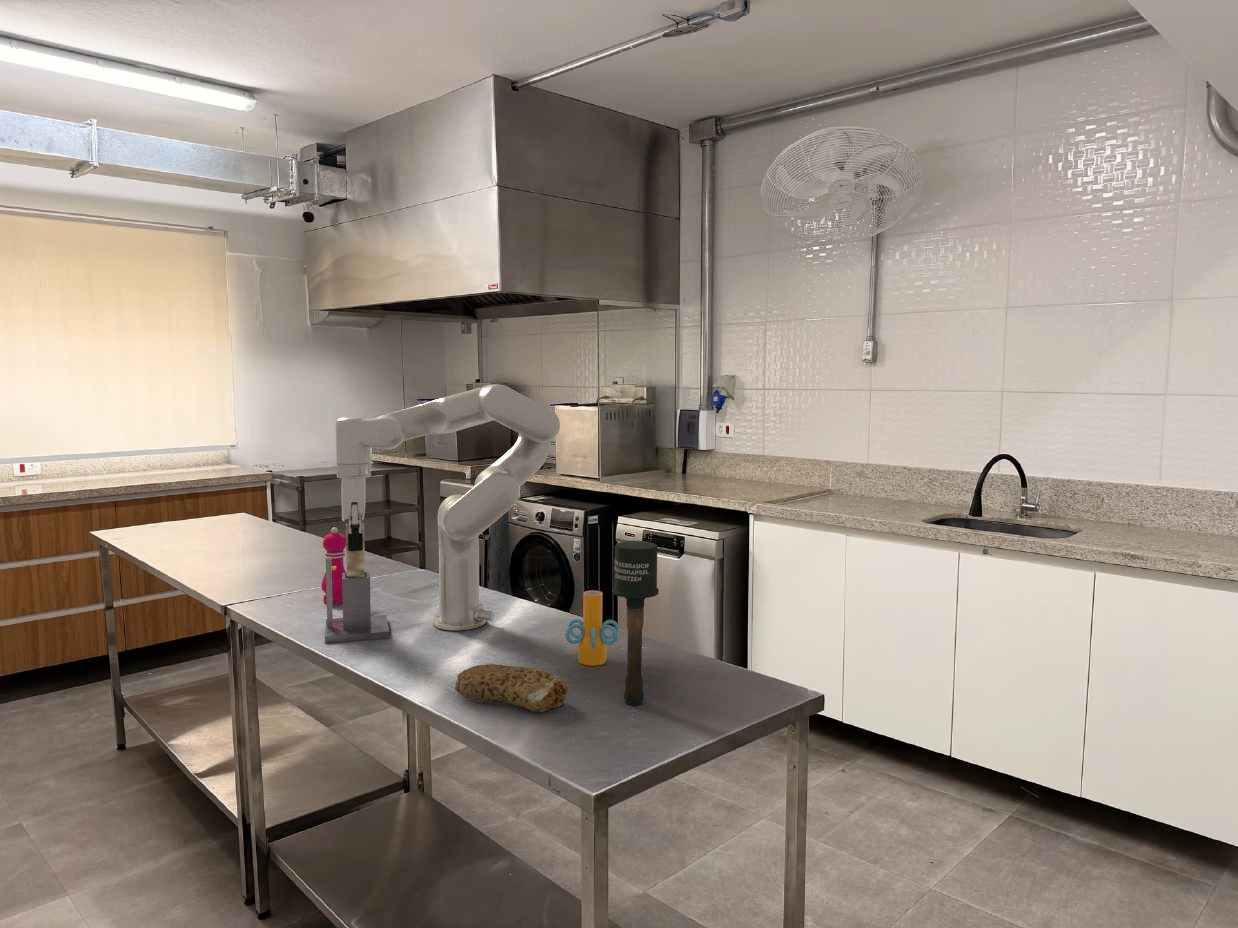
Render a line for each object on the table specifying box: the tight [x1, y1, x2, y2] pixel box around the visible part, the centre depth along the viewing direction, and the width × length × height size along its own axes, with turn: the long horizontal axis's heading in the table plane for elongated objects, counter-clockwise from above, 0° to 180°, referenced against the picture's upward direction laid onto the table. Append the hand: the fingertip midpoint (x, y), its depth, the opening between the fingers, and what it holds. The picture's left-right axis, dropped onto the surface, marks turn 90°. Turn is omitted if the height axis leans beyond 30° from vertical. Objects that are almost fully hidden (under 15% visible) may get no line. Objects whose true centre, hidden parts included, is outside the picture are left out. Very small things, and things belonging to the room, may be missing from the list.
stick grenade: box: [611, 540, 660, 706], centre depth 153 cm, size 8×9×30 cm
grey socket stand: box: [324, 557, 390, 644], centre depth 194 cm, size 14×14×18 cm
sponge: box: [454, 663, 569, 713], centre depth 154 cm, size 13×8×20 cm
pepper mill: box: [320, 526, 347, 605], centre depth 219 cm, size 7×7×20 cm
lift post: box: [345, 522, 366, 578], centre depth 193 cm, size 4×4×20 cm
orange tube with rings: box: [565, 590, 619, 667], centre depth 175 cm, size 12×10×15 cm
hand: (355, 547), depth 193 cm, fingers closed on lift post, 4 cm apart
